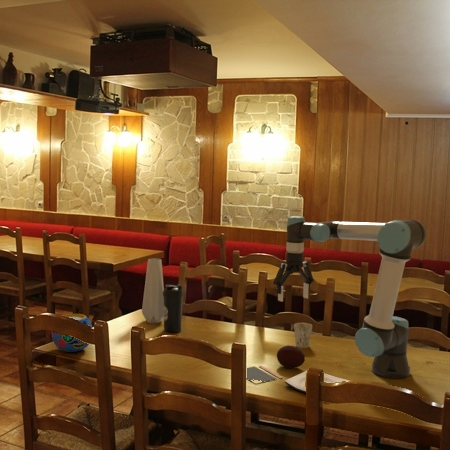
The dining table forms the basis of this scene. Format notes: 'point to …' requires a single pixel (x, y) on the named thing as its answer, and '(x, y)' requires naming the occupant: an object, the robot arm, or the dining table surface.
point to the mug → (302, 334)
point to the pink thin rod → (271, 372)
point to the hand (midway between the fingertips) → (293, 299)
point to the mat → (258, 374)
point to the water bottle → (173, 308)
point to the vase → (153, 292)
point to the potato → (290, 356)
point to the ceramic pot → (70, 342)
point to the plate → (300, 379)
